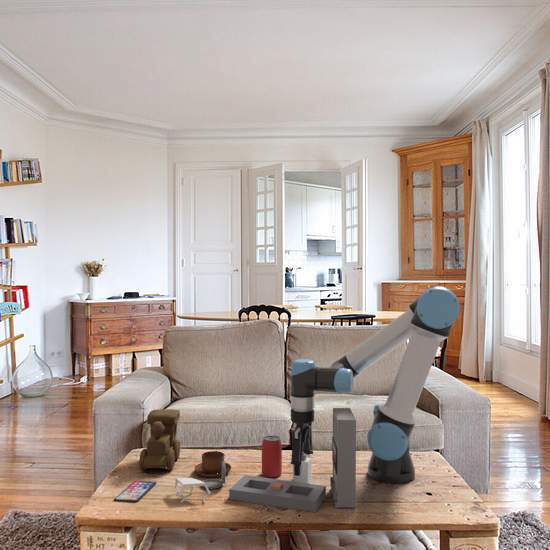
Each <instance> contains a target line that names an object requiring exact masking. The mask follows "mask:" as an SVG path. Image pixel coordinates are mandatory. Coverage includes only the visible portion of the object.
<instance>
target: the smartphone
mask: <svg viewBox="0 0 550 550" xmlns="http://www.w3.org/2000/svg"><path fill="white" fill-rule="evenodd" d="M156 485H157V482H156V481H152V480H151V481H149V480H148V481H147V480H134V481H132V482H131V483H130V484H129V485H128V486H127V487H126V488H124V489H123V490H122V491H121V492H120V493H119V494H118V495H117V496H115V498H114V499H113V501H114V502H119V503H120V502H122V503H131V504H132V503H133V504H135V503H136V504H137V503H139V502H140V501H141V500H142V499H143V498H144V497H145V495H147V494H148V493H149V492H150V491H151V490H152V489H153V488H154V487H155V486H156Z"/></svg>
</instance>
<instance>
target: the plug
mask: <svg viewBox="0 0 550 550" xmlns="http://www.w3.org/2000/svg"><path fill="white" fill-rule="evenodd" d="M312 462H313V460H312V457H311V458H307V457H306V454H305V453H303V454H302V464H303V468H302V483H308V484H310V483H311V481H312V468H313V467H312V464H313V463H312Z"/></svg>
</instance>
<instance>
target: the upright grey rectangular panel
mask: <svg viewBox="0 0 550 550" xmlns="http://www.w3.org/2000/svg"><path fill="white" fill-rule="evenodd" d="M352 411H353V410H352V409H351V408H350V407H333V408H332V436H331V437H332V440H331V441H332V443H331V444H332V447H331V448H332V449H331V450H332V452H331V457H332V458H331V459H332V476H331V475H330V476H329V477H330V478H329V479H330V482H329V483H330V484H329V486H330V492H331V495H332V499H333V503H334V507H335V508H336V509H339V508H352V509H356V508H357V501H356V500H357V497H356V496H357V490H356V489H357V478H356V477H357V473H356V472H357V464H356V463H357V419H356V418H355V415H354V413H353V412H352Z"/></svg>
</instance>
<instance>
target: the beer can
mask: <svg viewBox="0 0 550 550" xmlns="http://www.w3.org/2000/svg"><path fill="white" fill-rule="evenodd" d="M262 438H263V439H262V443H261V474H262V476H264V477H265V478H278V477H279V476H281V475H282V474H283V473H282V472H283V471H282V470H283V468H282V467H283V466H282V465H283V464H282V461H283V450H282V449H283V445H282V441H281V437H280V436H278V435H266V436H264V437H262Z"/></svg>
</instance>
